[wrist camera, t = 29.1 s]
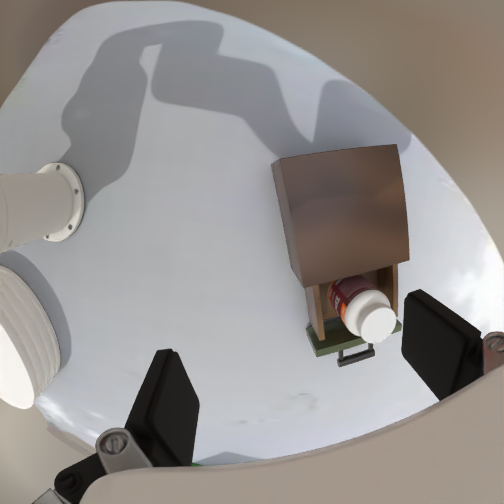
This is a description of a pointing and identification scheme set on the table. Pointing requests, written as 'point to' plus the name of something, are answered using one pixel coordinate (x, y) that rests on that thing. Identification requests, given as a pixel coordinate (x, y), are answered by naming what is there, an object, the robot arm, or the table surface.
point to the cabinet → (342, 212)
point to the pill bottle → (362, 308)
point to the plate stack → (24, 343)
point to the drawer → (335, 332)
